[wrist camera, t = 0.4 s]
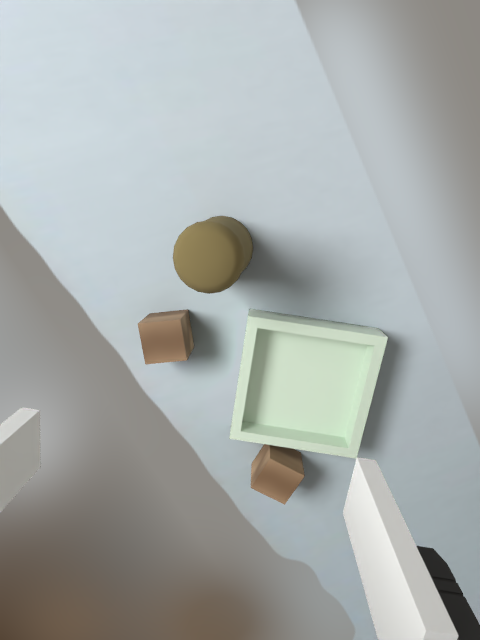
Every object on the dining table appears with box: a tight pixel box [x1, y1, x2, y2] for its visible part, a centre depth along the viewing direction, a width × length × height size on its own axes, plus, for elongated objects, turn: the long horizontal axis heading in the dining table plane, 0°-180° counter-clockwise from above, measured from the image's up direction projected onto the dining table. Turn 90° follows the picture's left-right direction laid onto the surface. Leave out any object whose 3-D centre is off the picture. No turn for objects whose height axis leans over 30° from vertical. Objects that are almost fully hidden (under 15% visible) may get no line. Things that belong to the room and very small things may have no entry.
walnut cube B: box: [251, 444, 305, 504], centre depth 40 cm, size 4×4×4 cm
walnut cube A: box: [138, 310, 194, 364], centre depth 37 cm, size 4×4×4 cm
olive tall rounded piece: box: [173, 216, 253, 293], centre depth 31 cm, size 6×6×11 cm
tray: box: [229, 309, 388, 458], centre depth 38 cm, size 13×13×3 cm
